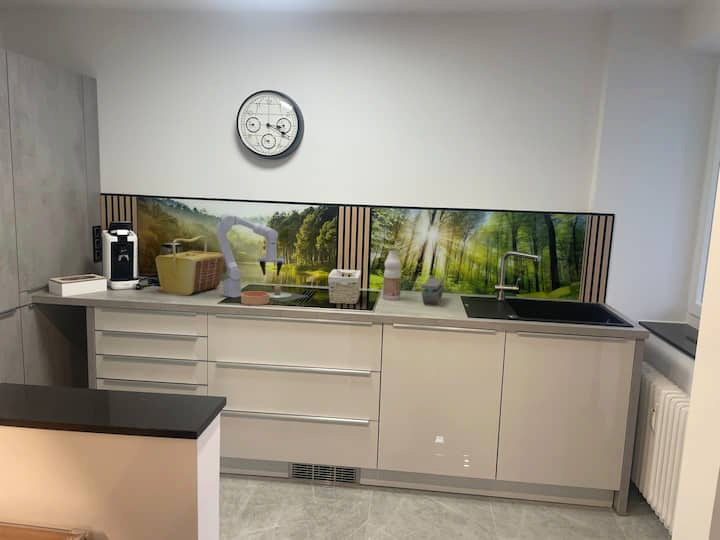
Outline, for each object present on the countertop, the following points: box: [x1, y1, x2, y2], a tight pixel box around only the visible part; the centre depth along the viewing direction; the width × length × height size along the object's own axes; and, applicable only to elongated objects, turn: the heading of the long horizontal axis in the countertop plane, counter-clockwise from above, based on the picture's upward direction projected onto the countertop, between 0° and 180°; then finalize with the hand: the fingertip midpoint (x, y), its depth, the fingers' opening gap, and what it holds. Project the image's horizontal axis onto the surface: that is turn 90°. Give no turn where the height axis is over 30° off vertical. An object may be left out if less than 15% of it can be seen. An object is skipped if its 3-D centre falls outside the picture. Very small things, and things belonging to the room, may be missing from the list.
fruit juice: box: [382, 247, 402, 301], centre depth 314 cm, size 9×9×28 cm
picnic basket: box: [155, 235, 225, 296], centre depth 320 cm, size 29×26×30 cm
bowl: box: [240, 290, 270, 306], centre depth 296 cm, size 14×14×4 cm
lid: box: [268, 284, 291, 298], centre depth 310 cm, size 15×15×6 cm
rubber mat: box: [268, 290, 309, 304], centre depth 311 cm, size 22×20×1 cm
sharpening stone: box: [421, 277, 445, 306], centre depth 310 cm, size 25×8×11 cm, turn 164°
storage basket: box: [327, 268, 362, 305], centre depth 309 cm, size 24×16×15 cm
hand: (271, 275), depth 318 cm, fingers open, 7 cm apart
